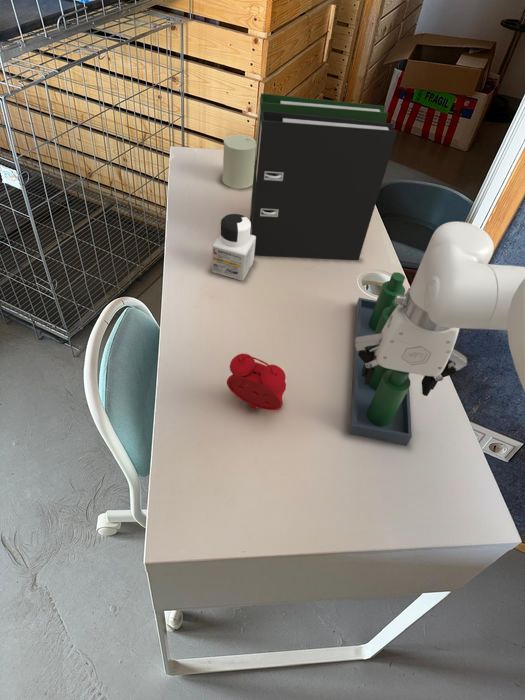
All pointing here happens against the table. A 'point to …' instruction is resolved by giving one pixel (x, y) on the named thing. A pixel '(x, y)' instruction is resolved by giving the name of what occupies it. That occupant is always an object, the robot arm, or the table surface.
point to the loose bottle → (388, 397)
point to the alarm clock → (257, 382)
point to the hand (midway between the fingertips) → (395, 383)
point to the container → (234, 247)
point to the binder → (317, 176)
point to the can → (238, 161)
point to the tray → (373, 392)
